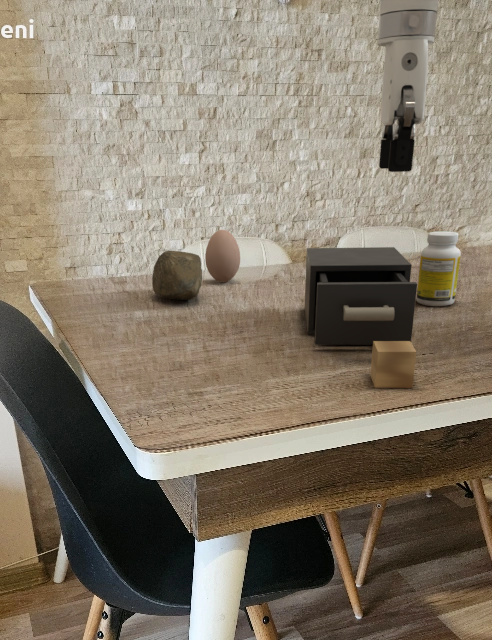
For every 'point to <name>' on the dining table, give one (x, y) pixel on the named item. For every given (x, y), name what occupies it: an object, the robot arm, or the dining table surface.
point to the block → (393, 364)
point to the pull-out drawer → (363, 307)
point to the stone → (177, 275)
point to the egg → (222, 256)
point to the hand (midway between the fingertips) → (394, 169)
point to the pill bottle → (439, 269)
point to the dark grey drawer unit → (347, 269)
